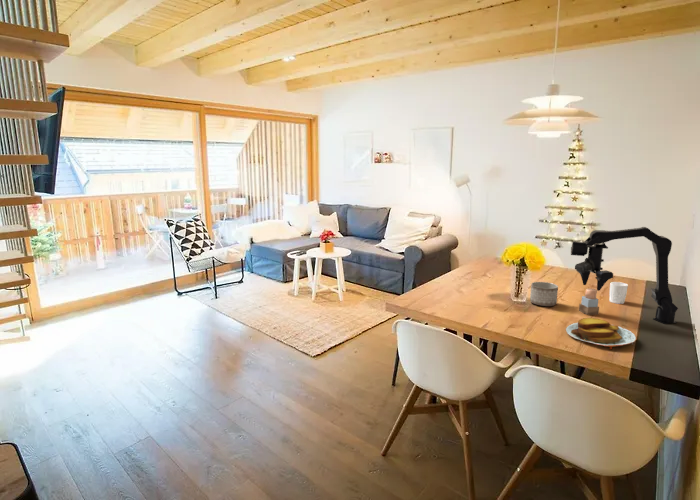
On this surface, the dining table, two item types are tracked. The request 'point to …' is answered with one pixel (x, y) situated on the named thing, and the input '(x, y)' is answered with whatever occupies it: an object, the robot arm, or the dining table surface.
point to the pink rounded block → (590, 293)
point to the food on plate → (600, 332)
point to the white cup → (618, 292)
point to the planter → (544, 293)
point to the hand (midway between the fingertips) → (591, 287)
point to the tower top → (589, 302)
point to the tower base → (588, 310)
